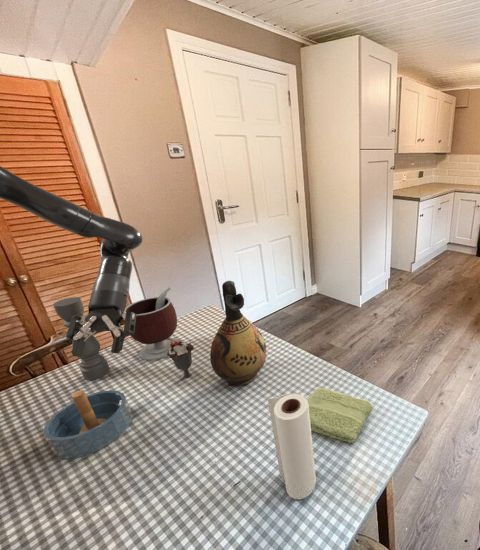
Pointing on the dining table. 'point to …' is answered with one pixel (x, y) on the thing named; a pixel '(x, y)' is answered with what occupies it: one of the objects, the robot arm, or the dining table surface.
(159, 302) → the mate gourd
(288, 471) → the paper towel roll
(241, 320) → the ceramic jug
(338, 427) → the washcloth
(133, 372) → the dining table surface
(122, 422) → the bowl
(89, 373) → the candle holder
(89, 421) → the wooden stamp
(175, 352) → the sundae
